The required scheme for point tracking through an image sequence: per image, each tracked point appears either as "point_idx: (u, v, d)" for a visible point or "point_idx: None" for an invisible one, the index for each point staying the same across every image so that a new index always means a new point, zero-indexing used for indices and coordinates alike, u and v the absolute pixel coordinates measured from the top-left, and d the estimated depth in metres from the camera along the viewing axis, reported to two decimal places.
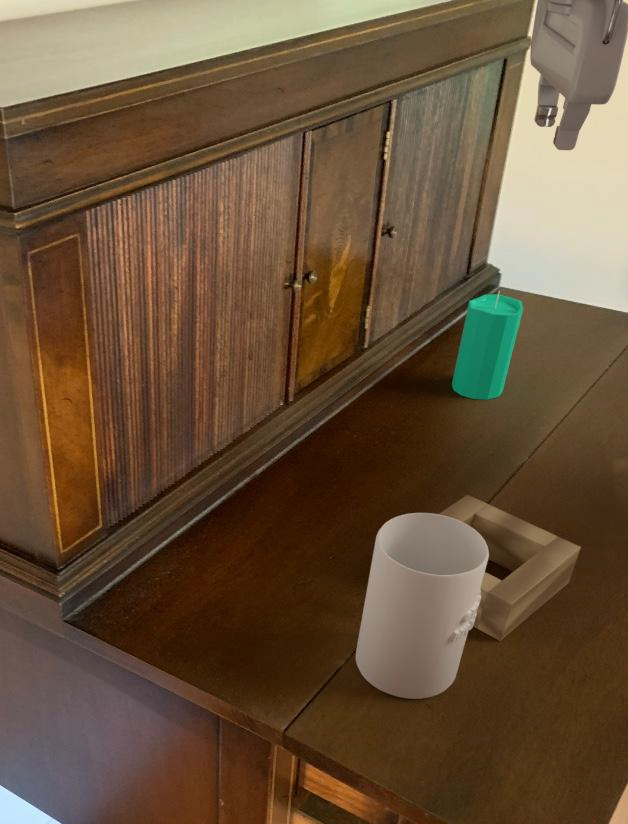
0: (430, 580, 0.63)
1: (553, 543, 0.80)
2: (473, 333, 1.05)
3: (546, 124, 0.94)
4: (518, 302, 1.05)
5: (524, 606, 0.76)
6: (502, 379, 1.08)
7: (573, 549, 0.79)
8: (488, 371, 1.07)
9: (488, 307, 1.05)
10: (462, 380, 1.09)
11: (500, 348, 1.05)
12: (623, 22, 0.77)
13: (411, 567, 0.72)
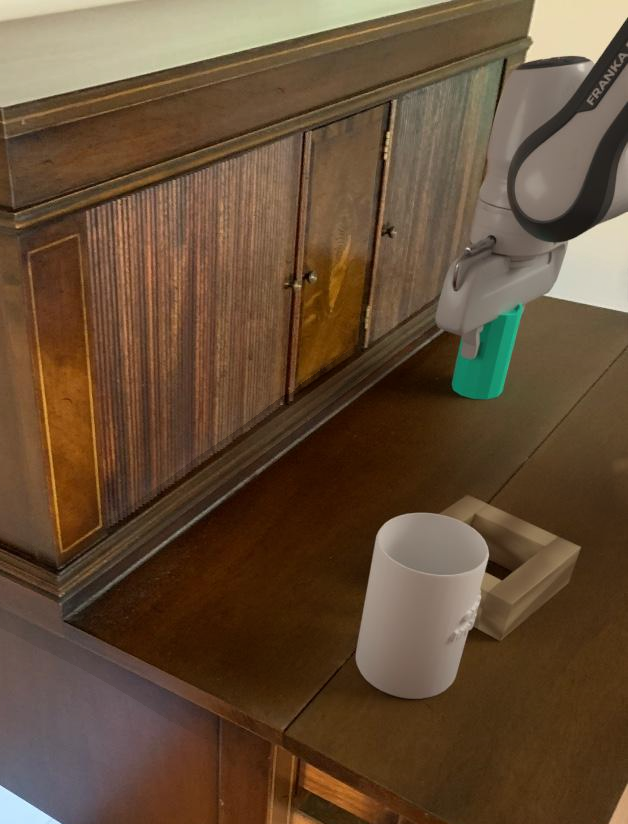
0: (430, 580, 0.63)
1: (553, 543, 0.80)
2: None
3: None
4: None
5: (524, 606, 0.76)
6: (502, 379, 1.08)
7: (573, 549, 0.79)
8: (488, 371, 1.07)
9: None
10: (462, 380, 1.09)
11: (500, 348, 1.05)
12: (469, 278, 0.96)
13: (411, 567, 0.72)
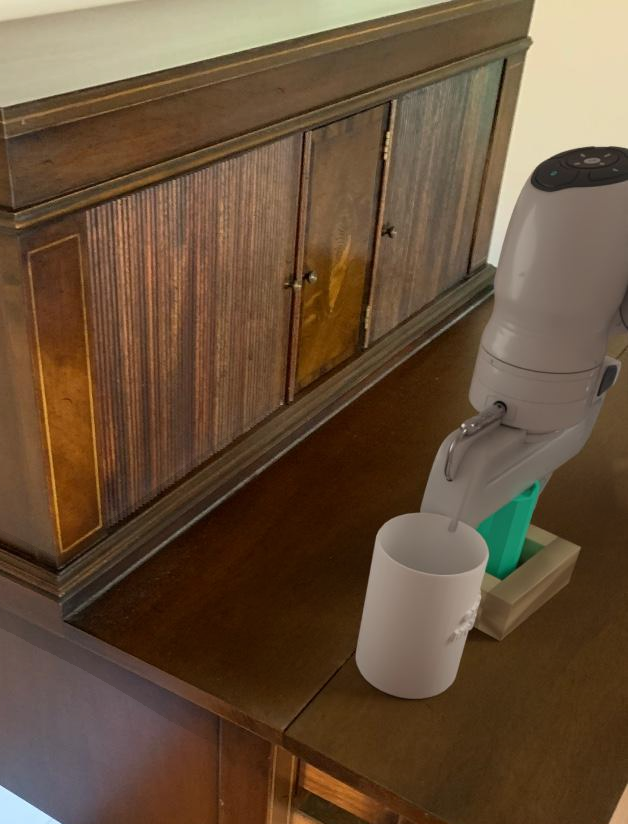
0: (430, 580, 0.63)
1: (553, 543, 0.80)
2: None
3: None
4: None
5: (524, 606, 0.76)
6: None
7: (573, 549, 0.79)
8: (491, 567, 0.78)
9: None
10: None
11: (508, 540, 0.76)
12: (469, 466, 0.66)
13: (411, 567, 0.72)
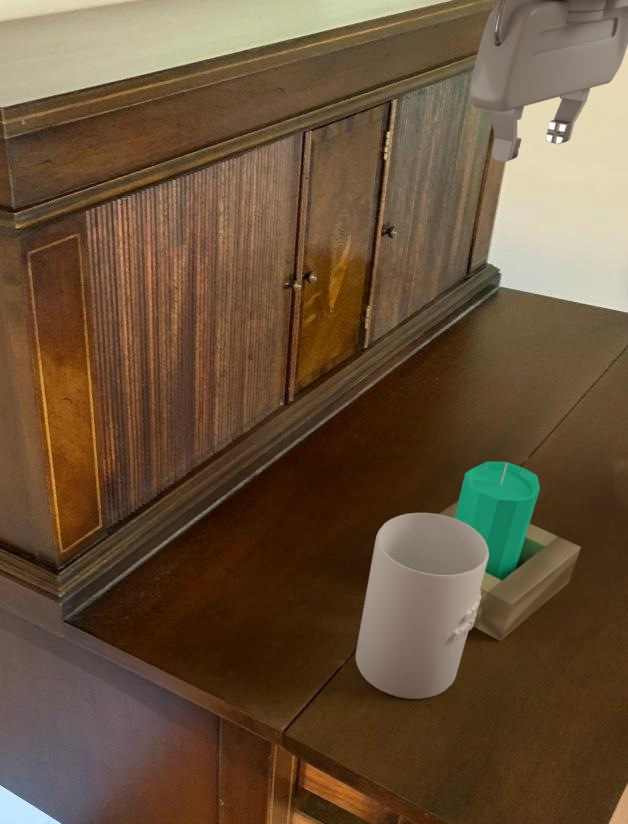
0: (430, 580, 0.63)
1: (553, 543, 0.80)
2: (470, 519, 0.76)
3: (555, 140, 0.87)
4: (533, 477, 0.76)
5: (524, 606, 0.76)
6: None
7: (573, 549, 0.79)
8: (491, 567, 0.78)
9: (491, 484, 0.76)
10: None
11: (508, 540, 0.76)
12: (517, 24, 0.72)
13: (411, 567, 0.72)
